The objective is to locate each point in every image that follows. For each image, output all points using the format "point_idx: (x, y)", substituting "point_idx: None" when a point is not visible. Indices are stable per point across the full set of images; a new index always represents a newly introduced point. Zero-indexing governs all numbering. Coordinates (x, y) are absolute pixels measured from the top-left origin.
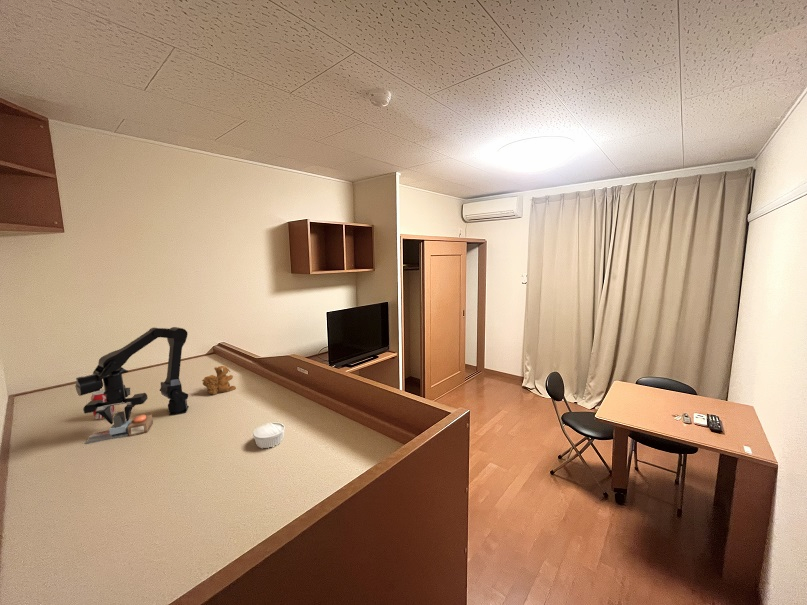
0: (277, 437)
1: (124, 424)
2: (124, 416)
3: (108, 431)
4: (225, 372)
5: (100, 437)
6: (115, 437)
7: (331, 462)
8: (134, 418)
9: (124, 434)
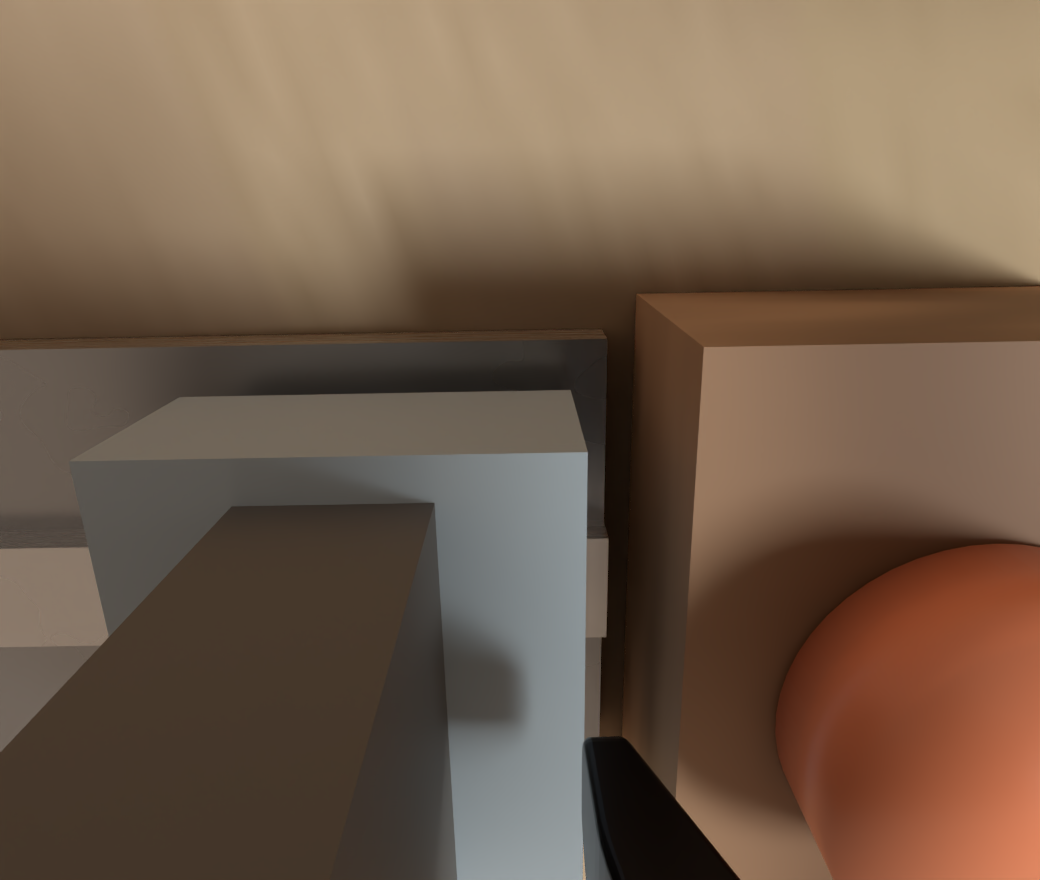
0: None
1: (508, 778)
2: (405, 678)
3: (37, 421)
4: None
5: (33, 680)
6: None
7: None
8: (874, 866)
9: None
